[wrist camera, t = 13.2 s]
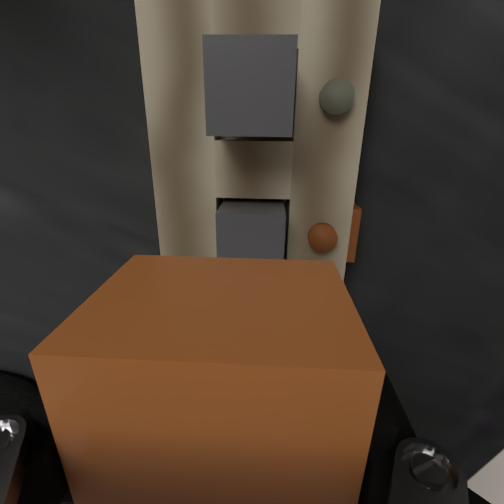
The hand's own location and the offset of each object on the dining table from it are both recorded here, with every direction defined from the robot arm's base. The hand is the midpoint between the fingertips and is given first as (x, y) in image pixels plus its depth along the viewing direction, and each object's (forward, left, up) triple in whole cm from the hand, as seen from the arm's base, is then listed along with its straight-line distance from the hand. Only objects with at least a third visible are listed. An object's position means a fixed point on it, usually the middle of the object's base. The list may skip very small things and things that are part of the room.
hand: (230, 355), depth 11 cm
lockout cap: (0, 0, -1) cm, 1 cm away
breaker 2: (0, 0, -16) cm, 16 cm away
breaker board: (0, 0, -17) cm, 17 cm away
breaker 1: (0, -9, -14) cm, 17 cm away
